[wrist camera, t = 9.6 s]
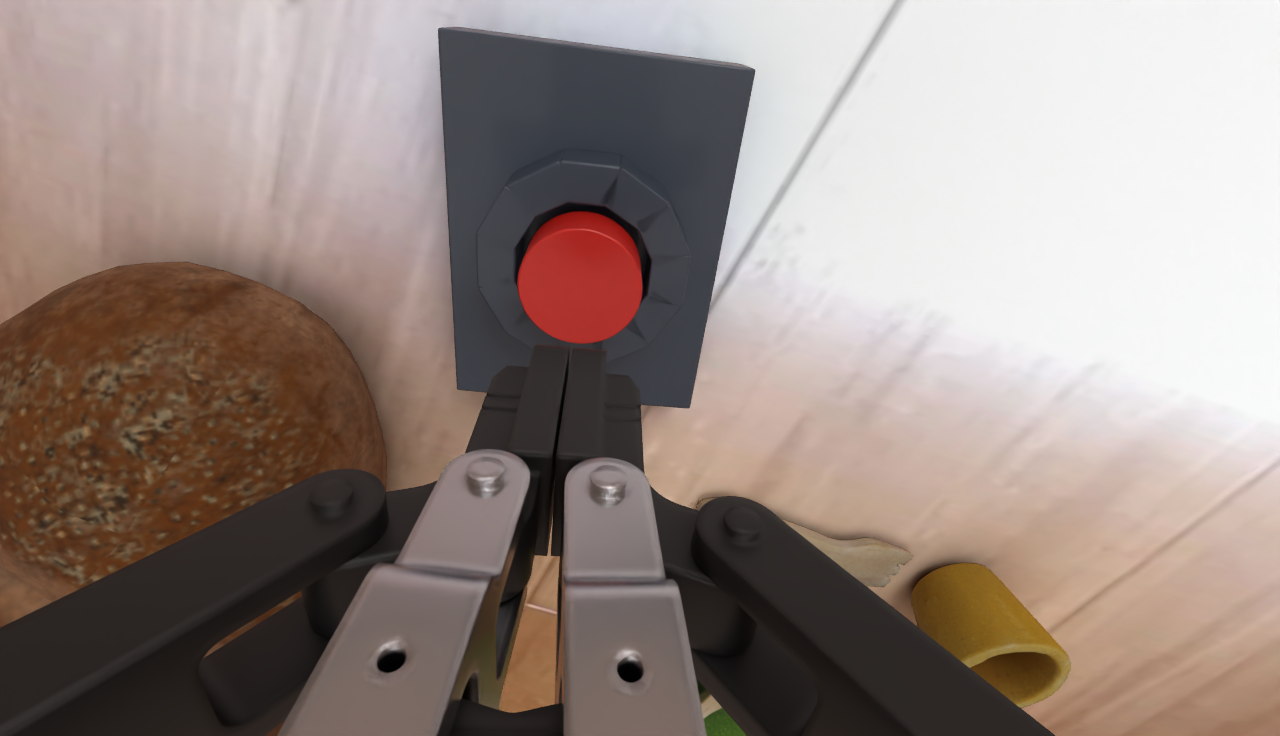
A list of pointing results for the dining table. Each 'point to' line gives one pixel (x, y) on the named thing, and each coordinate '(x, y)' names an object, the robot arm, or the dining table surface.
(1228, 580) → the dining table surface
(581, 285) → the button
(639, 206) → the button block
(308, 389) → the bread
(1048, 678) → the tableware set
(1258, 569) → the dining table surface
